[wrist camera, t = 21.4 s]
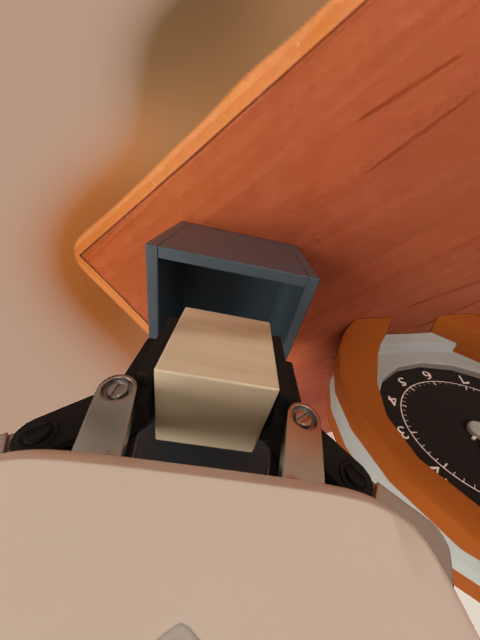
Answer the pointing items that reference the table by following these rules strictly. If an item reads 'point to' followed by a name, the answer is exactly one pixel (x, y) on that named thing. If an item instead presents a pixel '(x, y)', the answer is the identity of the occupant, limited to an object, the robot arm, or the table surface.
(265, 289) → the chest
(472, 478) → the alarm clock
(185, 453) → the lid
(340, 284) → the table surface
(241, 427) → the block
